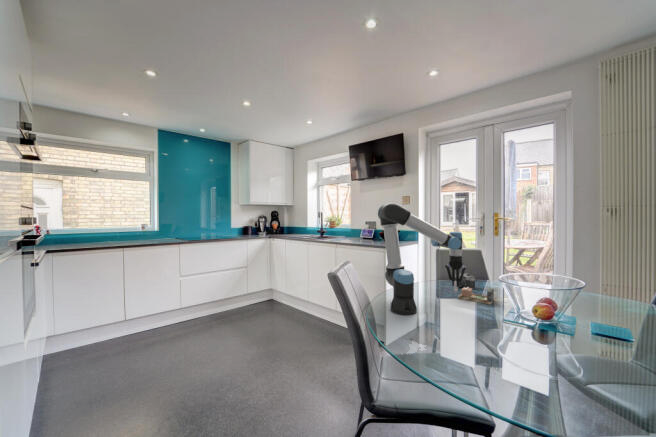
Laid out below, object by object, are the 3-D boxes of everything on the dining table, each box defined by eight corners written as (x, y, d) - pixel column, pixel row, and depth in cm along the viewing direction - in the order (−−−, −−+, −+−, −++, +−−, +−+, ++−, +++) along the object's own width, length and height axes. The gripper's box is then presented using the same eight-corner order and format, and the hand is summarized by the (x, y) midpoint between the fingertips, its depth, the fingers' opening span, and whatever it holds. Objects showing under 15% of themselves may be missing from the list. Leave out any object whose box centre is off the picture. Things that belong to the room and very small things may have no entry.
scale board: (457, 298, 167) (457, 287, 167) (462, 294, 176) (462, 283, 176) (490, 304, 156) (490, 292, 155) (493, 300, 164) (493, 288, 164)
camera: (448, 285, 199) (448, 272, 199) (458, 284, 203) (458, 271, 203) (466, 290, 185) (466, 276, 185) (476, 289, 189) (476, 275, 189)
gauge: (461, 295, 168) (461, 288, 168) (464, 293, 173) (464, 286, 173) (469, 297, 164) (469, 289, 164) (472, 294, 170) (472, 287, 170)
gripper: (443, 255, 174) (443, 290, 174) (465, 256, 166) (465, 294, 166) (447, 253, 180) (447, 288, 180) (468, 255, 172) (468, 291, 172)
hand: (455, 291), depth 173 cm, fingers closed
